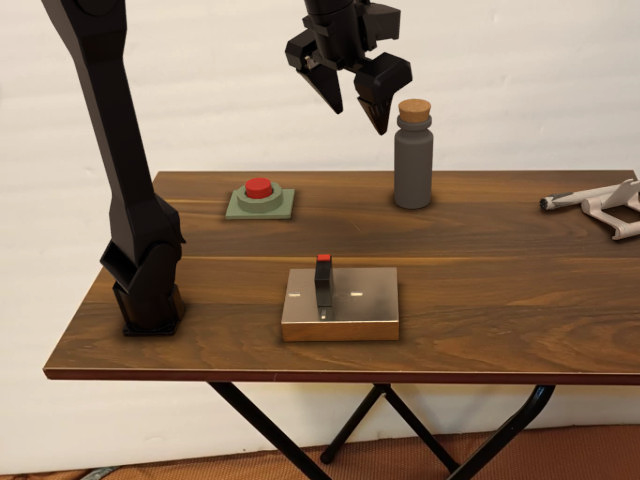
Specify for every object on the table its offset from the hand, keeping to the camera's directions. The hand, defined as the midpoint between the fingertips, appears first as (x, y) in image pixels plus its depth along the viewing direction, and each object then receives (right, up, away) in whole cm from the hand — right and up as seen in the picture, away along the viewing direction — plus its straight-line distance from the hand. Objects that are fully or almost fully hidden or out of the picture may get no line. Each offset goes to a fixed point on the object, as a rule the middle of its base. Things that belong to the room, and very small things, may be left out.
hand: (361, 122), depth 85 cm
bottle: (+8, -6, +16) cm, 19 cm away
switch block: (-16, -7, +15) cm, 23 cm away
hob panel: (-2, -26, -4) cm, 26 cm away
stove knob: (-4, -24, -6) cm, 25 cm away
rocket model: (+27, -8, +11) cm, 30 cm away
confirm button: (-16, -6, +14) cm, 22 cm away
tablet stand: (+40, -10, +5) cm, 42 cm away
